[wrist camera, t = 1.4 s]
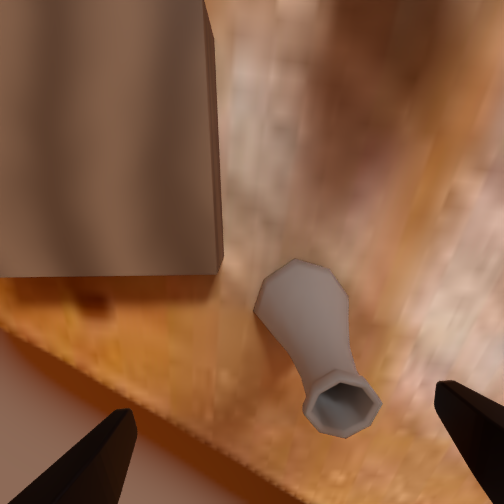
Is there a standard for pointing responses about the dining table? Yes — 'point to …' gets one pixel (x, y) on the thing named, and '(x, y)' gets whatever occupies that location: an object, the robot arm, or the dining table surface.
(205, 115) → the walnut shelf
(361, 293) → the dining table surface
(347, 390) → the flask
